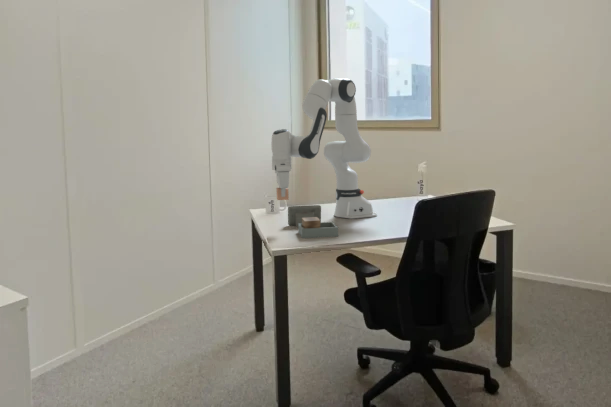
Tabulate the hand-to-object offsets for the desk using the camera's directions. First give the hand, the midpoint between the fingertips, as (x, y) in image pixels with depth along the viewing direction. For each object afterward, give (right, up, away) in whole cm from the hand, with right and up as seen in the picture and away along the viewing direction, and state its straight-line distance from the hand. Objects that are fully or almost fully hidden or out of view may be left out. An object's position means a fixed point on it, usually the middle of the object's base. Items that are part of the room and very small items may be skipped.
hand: (282, 195), depth 261 cm
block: (+13, -17, -8) cm, 23 cm away
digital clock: (+10, -15, +14) cm, 23 cm away
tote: (+16, -18, -8) cm, 26 cm away
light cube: (0, -2, 0) cm, 2 cm away
